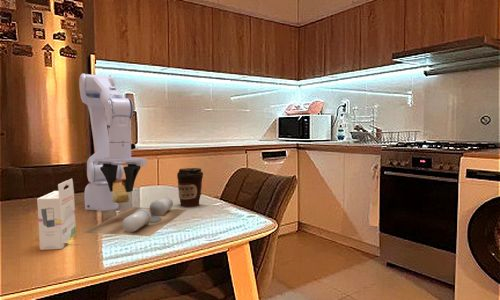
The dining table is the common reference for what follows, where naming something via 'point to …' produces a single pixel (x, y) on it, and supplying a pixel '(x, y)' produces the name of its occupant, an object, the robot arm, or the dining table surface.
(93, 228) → the board
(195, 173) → the coffee cup
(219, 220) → the dining table surface
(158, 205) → the pipe stubs
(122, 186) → the tan red-topped cylinder
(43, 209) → the ink box
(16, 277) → the dining table surface
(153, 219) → the flange seat
